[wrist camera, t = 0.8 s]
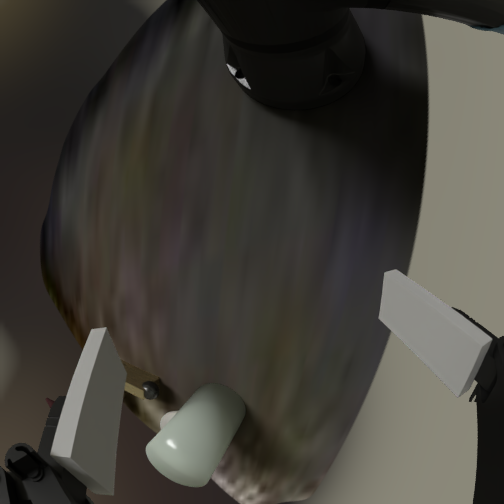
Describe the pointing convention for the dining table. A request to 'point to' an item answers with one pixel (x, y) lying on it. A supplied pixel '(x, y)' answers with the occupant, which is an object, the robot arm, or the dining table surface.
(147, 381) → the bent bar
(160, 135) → the dining table surface
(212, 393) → the tall sage cylinder
